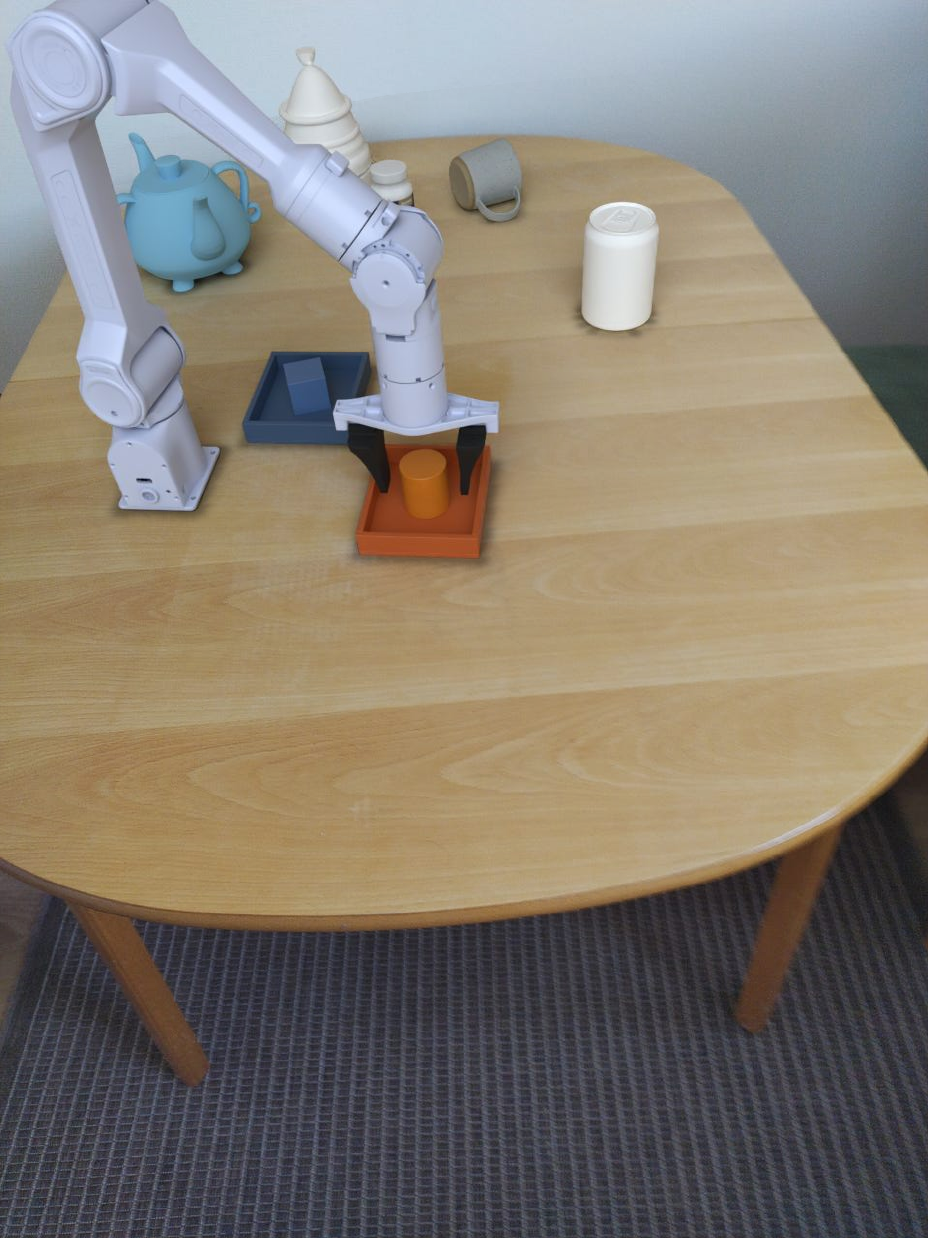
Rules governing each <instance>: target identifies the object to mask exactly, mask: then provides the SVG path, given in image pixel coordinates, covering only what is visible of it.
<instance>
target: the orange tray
mask: <svg viewBox="0 0 928 1238" xmlns="http://www.w3.org/2000/svg"><path fill="white" fill-rule="evenodd" d="M385 448H386V453H387V458H388V463H389V467H390V476H391V480H390V485H389V489H388V493H381V492H380V490H379V488H378V486H377V484H376V482H375V480H374V478H373V476H372V475H371V474H370V478H369V483H368V486H367V490H366V493H365V498H364V501H363V506H362V509H361V514H360V517H359V521H358V525H357V529H356V532H355V533H356V534H355V539H356V545H357V547H358V548H357V549H358V553H359V555H360V556H389V557H390V556H392V557H418V558H419V557H424V558H451V559H454V558H455V559H456V558H457V559H480V556H481V555H480V554H481V547H482V541H483V533H484V525H485V524H484V523H485V516H486V510H487V501H488V493H489V487H490V486H489V485H490V479H491V470H492V452H491V451H492V450H491V449H492V448H491V445H485V447H484V449H483V452H482V454H481V456H480V457H479V459H478V461H477V462H476V464H475V467H474V469H473V472H472V475H471V478H470V488H469V494H468V495H461V492H460V468H459V461H458V456H457V452H456V444H419V443H418V444H417V443H416V444H414V443H413V444H412V443H410V444H409V443H402V444H401V443H385ZM419 449H431V450H435V451H437V452H439V453H441V454H442V455H443V456H444V457H445V459H446V465H447V475H448V486H449V496H450V505H449V508H448V509H447V511H446V512H445V513H444V514H442V515H440V516H438V517H436V518H432V519H419V518H415V517H413V516H411V515H410V514H409V513H408V512H407V511H406V509H405V505H404V498H403V491H402V484H401V478H400V471H399V463H400V461H401V459H402V458H403V457H404V456H405V455H406V454H408V453H409V452H412V451H415V450H419Z"/></svg>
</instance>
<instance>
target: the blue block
mask: <svg viewBox="0 0 928 1238" xmlns="http://www.w3.org/2000/svg"><path fill="white" fill-rule="evenodd" d="M283 366H284V371H285V375H286V380H287V385H288V389H289V393H290V397H291V401H292V406H293V410H294V414H295V416H297V415H302V414H307V413H312V412H317V411H323V410H328V409H331V403H330V398H329V394H328V389H327V384H326V379H325V375H324V371H323V367H322V363H321V360H320V357H318V358H313V359H308V360H302V361H297V362H292V363H287V364H283Z"/></svg>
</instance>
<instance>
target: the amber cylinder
mask: <svg viewBox="0 0 928 1238" xmlns="http://www.w3.org/2000/svg"><path fill="white" fill-rule="evenodd" d="M399 471H400V478H401V484H402V491H403V498H404V505H405V509H406V511H407V512H408V513H409V514H410V515H411V516H413V517H415V518H419V519H432V518H436V517H438V516H440V515H442V514H444V513H445V512H446V511H447V509H448V508H449V505H450V496H449V486H448V475H447V465H446V459H445V457H444V456H443V455H442V454H441V453H439V452H437V451H435V450H431V449H419V450H415V451H412V452H409V453H408V454H406V455H405V456H404V457H403V458H402V459H401V461H400V463H399Z"/></svg>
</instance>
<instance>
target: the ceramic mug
mask: <svg viewBox="0 0 928 1238" xmlns="http://www.w3.org/2000/svg"><path fill="white" fill-rule="evenodd" d="M448 167H449V168H448V176H449V177H448V178H449V183H450V188H451V191H452V193H453V196H454V198H455V200H456V202H457V203H458V204H459V205H460V206H461V207H462V208H463V209H465V210H468V211H471V210H478V211H479V212H480V214H481V215H483V216H484V217H485V218H486V219H487V220H489V221H492V222H496V223H497V222H498V223H503V222H508V221H511V220H513V219H514V218H515V217H517V215H518V213H519V211H520V207H521V200H522V199H521V198H522V197H521V193H522V189H523V180H524V179H523V172H522V171H523V170H522V166H521V162H520V159H519V157H518V154H517V152H516V150H515V147H514V146H513V145H512V144H511V142H510V141H509V140H508V139H507V138H504V137H498V138H496V139H494V140H491V141H489V142H486V143H484V144H481V145H479V146H476V147H474V148H472V149H468V150H465V151H463V152H461V153H460V154H458V155H457V156H455V157H454V158H452V159H451V161H450V164H449V166H448ZM513 199H515V202H516V204H515V206H514V208H513V209H512V210H510V211H506V212H495V211H492V210H490V209H489V208H487V207H489V206H492V205H496V204H500V203H503V202H507V201H510V200H513Z"/></svg>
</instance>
